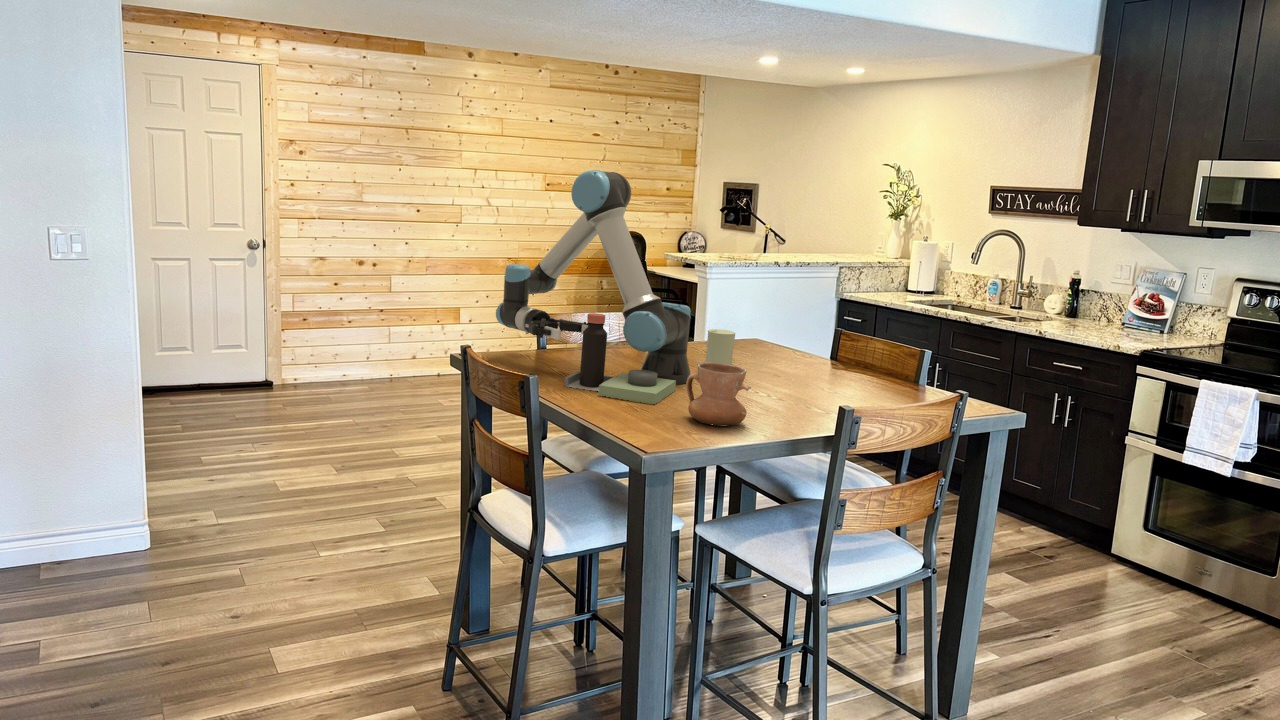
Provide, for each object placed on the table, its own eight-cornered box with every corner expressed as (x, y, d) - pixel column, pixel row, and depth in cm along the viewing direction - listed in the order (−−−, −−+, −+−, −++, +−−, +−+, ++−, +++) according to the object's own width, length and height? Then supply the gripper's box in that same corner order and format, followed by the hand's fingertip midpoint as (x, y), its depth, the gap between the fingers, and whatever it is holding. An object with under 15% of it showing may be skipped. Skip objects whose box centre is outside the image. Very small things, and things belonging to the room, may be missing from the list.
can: (700, 362, 310) (703, 327, 308) (725, 363, 313) (729, 328, 311) (710, 368, 301) (714, 332, 299) (736, 368, 304) (740, 333, 302)
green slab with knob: (583, 377, 271) (584, 357, 270) (675, 390, 263) (676, 370, 262) (557, 389, 252) (558, 368, 251) (655, 404, 245) (657, 382, 243)
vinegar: (601, 388, 256) (607, 317, 253) (577, 386, 257) (582, 315, 253) (604, 383, 263) (610, 314, 259) (580, 381, 263) (586, 311, 260)
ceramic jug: (759, 425, 232) (766, 370, 230) (729, 434, 221) (735, 376, 218) (700, 410, 243) (705, 357, 240) (668, 418, 231) (673, 363, 229)
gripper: (565, 331, 285) (610, 344, 270) (498, 335, 268) (542, 349, 253) (567, 307, 284) (612, 319, 269) (499, 310, 267) (544, 322, 252)
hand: (578, 334), depth 261 cm, fingers open, 13 cm apart
